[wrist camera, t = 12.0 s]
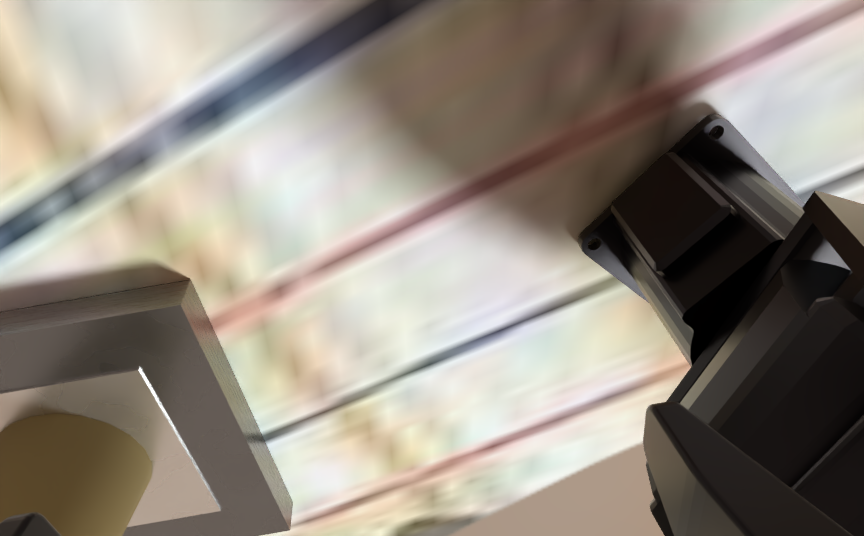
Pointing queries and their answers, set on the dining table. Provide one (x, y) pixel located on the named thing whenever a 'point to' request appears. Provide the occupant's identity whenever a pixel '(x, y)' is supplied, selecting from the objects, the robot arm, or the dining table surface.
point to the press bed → (150, 404)
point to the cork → (72, 473)
